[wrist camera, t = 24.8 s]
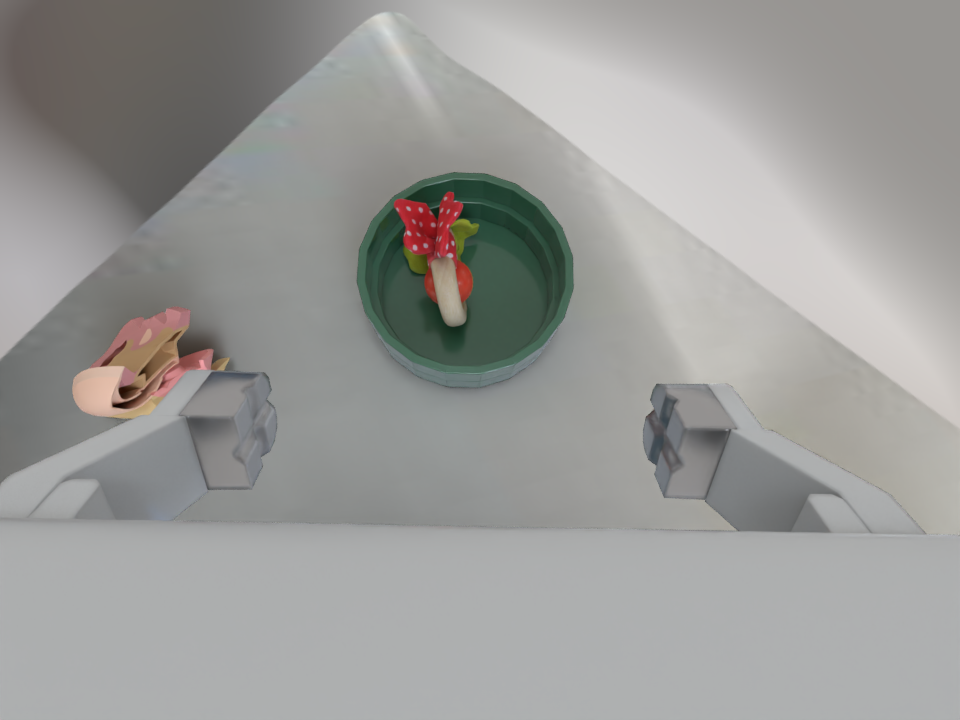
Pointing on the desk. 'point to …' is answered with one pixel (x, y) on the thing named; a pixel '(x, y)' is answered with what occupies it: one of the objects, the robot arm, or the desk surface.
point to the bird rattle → (439, 253)
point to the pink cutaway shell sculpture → (140, 367)
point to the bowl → (496, 284)
